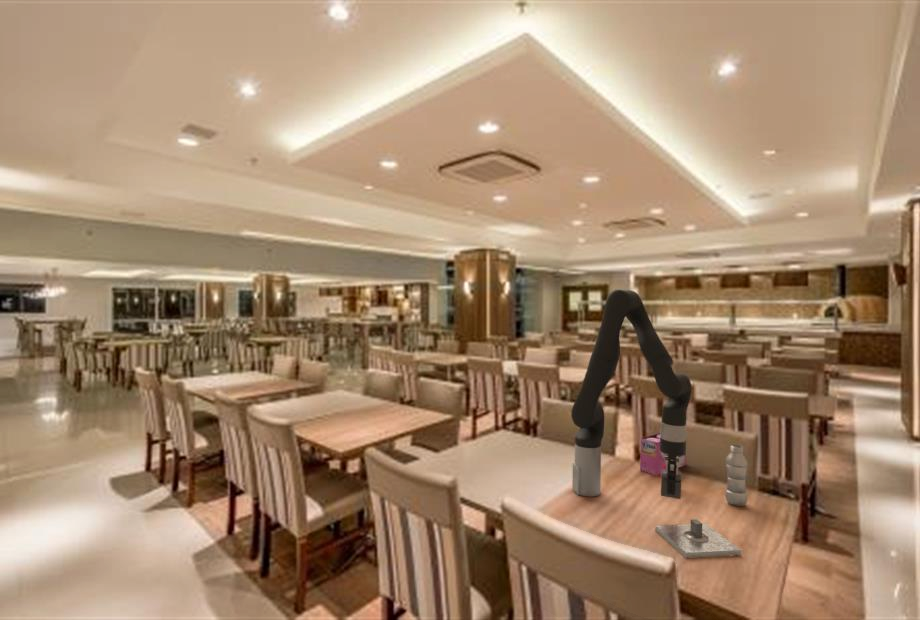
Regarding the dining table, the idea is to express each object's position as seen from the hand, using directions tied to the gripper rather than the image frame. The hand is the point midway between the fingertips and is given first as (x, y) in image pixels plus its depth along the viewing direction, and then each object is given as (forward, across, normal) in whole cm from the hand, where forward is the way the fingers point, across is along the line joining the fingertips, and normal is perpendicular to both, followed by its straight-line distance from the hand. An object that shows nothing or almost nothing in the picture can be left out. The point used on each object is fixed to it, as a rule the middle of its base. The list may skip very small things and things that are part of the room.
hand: (670, 490), depth 151 cm
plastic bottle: (+10, +23, -21) cm, 32 cm away
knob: (+1, 0, 0) cm, 1 cm away
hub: (+9, -12, -7) cm, 17 cm away
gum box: (+11, +53, +3) cm, 54 cm away
